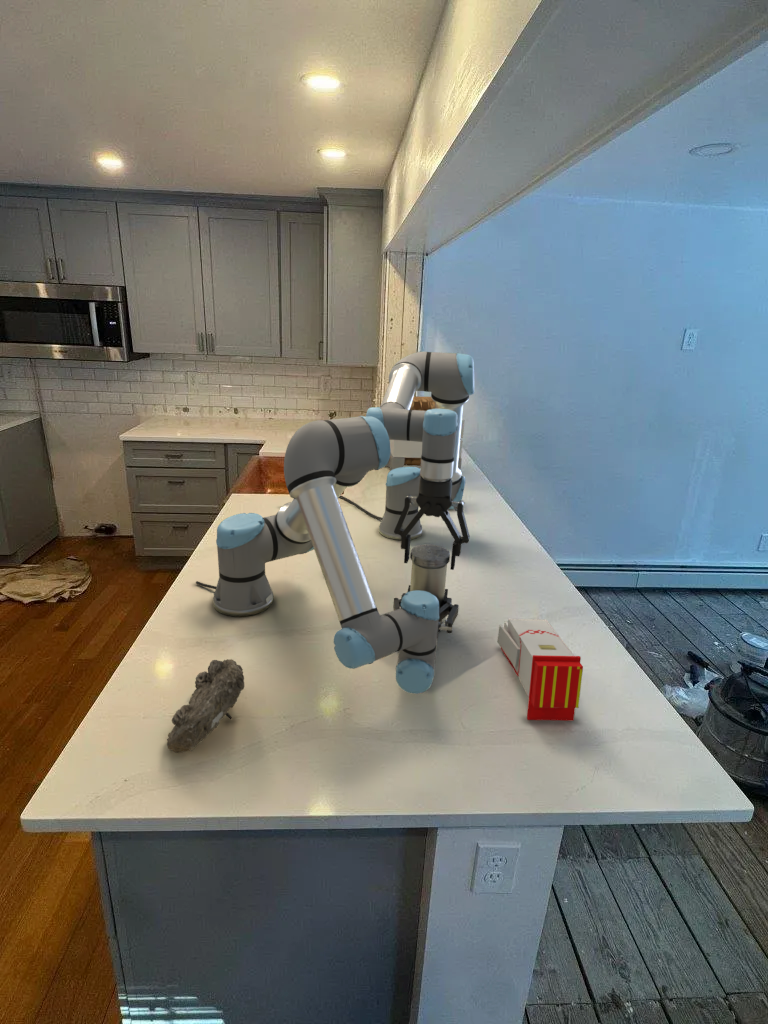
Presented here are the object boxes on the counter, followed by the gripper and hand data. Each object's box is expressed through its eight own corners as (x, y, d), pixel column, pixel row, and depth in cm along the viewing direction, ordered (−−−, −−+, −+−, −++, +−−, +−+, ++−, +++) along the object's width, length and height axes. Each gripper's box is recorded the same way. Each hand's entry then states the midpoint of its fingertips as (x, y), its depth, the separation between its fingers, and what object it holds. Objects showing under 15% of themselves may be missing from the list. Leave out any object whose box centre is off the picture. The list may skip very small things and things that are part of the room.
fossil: (192, 660, 117) (244, 628, 112) (224, 691, 120) (276, 661, 115) (142, 746, 98) (202, 712, 93) (182, 779, 101) (242, 748, 96)
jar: (423, 611, 150) (428, 545, 143) (448, 624, 144) (455, 556, 137) (401, 621, 144) (405, 554, 138) (425, 635, 138) (431, 566, 132)
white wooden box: (382, 463, 289) (386, 382, 275) (445, 464, 293) (451, 384, 279) (390, 482, 257) (394, 392, 243) (460, 483, 261) (468, 394, 247)
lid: (421, 547, 144) (422, 541, 143) (456, 557, 139) (456, 550, 139) (402, 560, 136) (403, 553, 136) (438, 571, 132) (439, 564, 131)
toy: (543, 604, 136) (592, 662, 106) (538, 656, 138) (584, 727, 109) (493, 603, 135) (528, 661, 106) (489, 655, 138) (522, 726, 109)
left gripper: (372, 647, 128) (386, 600, 149) (467, 659, 125) (468, 609, 146) (373, 618, 125) (387, 574, 146) (470, 629, 122) (471, 583, 143)
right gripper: (487, 478, 132) (478, 564, 139) (390, 468, 137) (386, 551, 144) (485, 487, 125) (475, 577, 132) (383, 476, 130) (379, 563, 137)
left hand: (428, 591), depth 146 cm, fingers closed on jar, 9 cm apart
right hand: (429, 564), depth 138 cm, fingers open, 11 cm apart
